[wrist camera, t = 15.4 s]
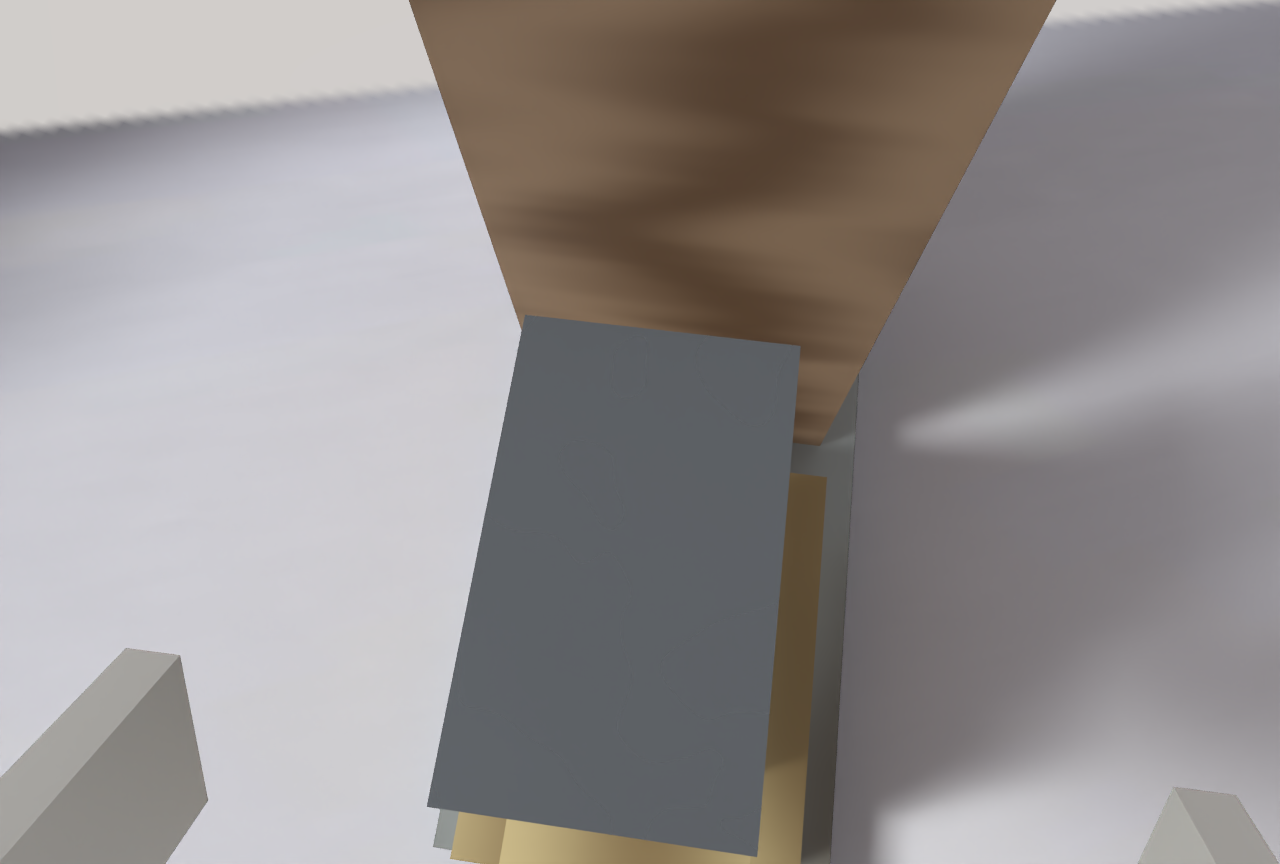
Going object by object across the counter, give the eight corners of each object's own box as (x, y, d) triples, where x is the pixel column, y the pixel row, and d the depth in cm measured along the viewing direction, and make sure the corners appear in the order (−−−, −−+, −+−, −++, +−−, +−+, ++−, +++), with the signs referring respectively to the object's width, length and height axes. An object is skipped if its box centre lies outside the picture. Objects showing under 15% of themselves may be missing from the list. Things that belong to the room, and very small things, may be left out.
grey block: (581, 764, 23) (427, 806, 8) (609, 575, 25) (525, 314, 10) (694, 781, 23) (756, 857, 8) (716, 589, 25) (800, 345, 9)
